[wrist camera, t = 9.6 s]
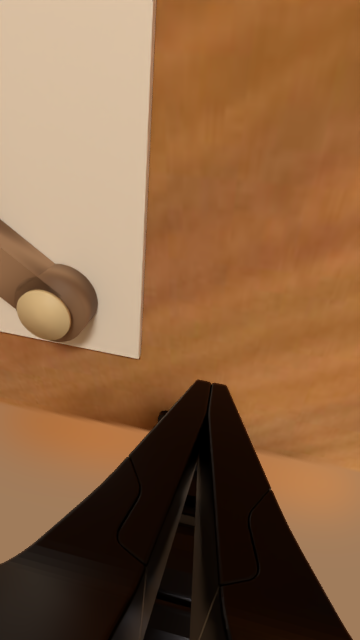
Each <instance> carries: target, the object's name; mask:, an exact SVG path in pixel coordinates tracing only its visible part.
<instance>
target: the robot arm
mask: <svg viewBox="0 0 360 640" xmlns="http://www.w3.org/2000/svg"><path fill="white" fill-rule="evenodd" d="M0 640H353V639H352V638H351V636H350V635H349V633H348V632H347V630H346V628H345V627H344V625H343V623H342V622H341V620H340V618H339V616H338V615H337V613H336V612H335V609H334V608H333V606H332V604H331V602H330V600H329V599H328V597H327V595H326V593H325V592H324V590H323V588H322V586H321V584H320V583H319V581H318V579H317V577H316V576H315V574H314V572H313V570H312V569H311V567H310V565H309V563H308V561H307V560H306V558H305V556H304V554H303V553H302V551H301V549H300V547H299V545H298V543H297V541H296V539H295V538H294V536H293V534H292V532H291V530H290V528H289V526H288V524H287V522H286V520H285V518H284V516H283V514H282V511H281V509H280V507H279V505H278V503H277V500H276V498H275V496H274V493H273V491H272V490H271V487H270V484H269V482H268V480H267V477H266V475H265V473H264V471H263V468H262V466H261V464H260V461H259V459H258V457H257V454H256V452H255V450H254V448H253V445H252V443H251V441H250V438H249V436H248V434H247V431H246V429H245V427H244V425H243V422H242V420H241V418H240V415H239V413H238V411H237V408H236V406H235V404H234V402H233V399H232V397H231V395H230V392H229V390H228V388H227V386H226V385H223V384H218V383H212V385H211V383H210V382H208V381H203V380H197V381H195V383H194V384H193V385H192V386H191V387H190V388H189V389H188V390H187V391H186V392H185V394H184V395H183V396H182V397H181V398H180V399H179V400H178V401H177V402H176V404H175V405H174V406H173V407H172V408H171V409H170V410H169V411H161V412H160V414H159V417H158V423H157V425H156V426H155V427H154V428H153V429H152V430H151V431H150V432H149V433H148V435H147V436H146V437H145V438H144V439H143V440H142V441H141V442H140V444H139V445H138V446H137V447H136V448H135V449H134V450H133V451H132V452H131V453H130V454H129V457H127V458H126V459H125V460H124V461H123V462H122V463H121V464H120V465H119V466H118V467H117V469H116V470H115V471H114V472H113V473H112V474H111V475H110V476H109V477H108V478H107V479H106V480H105V481H104V482H103V483H102V484H101V485H100V486H99V487H98V488H96V489H95V490H94V491H93V492H92V493H91V494H90V495H89V496H88V497H87V498H85V499H84V500H83V501H82V502H81V503H80V504H79V505H77V507H75V508H74V509H73V510H72V511H71V512H69V513H68V514H67V515H66V516H65V517H64V518H63V519H61V520H60V521H59V522H58V523H57V524H56V525H54V526H53V527H52V528H51V529H50V530H49V531H47V532H46V533H45V534H44V535H43V536H42V537H41V538H39V539H38V540H37V541H36V542H35V543H33V544H32V545H31V546H29V547H28V548H27V549H25V550H24V551H23V552H21V553H19V554H18V555H16V556H15V557H13V558H11V559H9V560H8V561H6V562H4V563H2V564H0Z"/></svg>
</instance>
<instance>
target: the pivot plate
mask: <svg viewBox="0 0 360 640" xmlns="http://www.w3.org/2000/svg"><path fill="white" fill-rule="evenodd" d="M155 20H156V0H0V219H1V220H2V221H3V222H4V223H6V224H7V225H8V226H9V227H11V228H12V229H13V230H14V231H16V232H17V233H18V234H19V235H20V236H22V237H23V238H24V239H25V240H27V241H28V242H29V243H30V244H32V245H33V246H34V247H35V248H36V249H38V250H39V251H40V252H41V253H43V254H44V255H45V256H46V257H48V258H49V259H50V260H51V261H52V262H54V263H55V264H63V265H67V266H70V267H72V268H74V269H76V270H78V271H79V272H81V273H82V274H83V275H84V276H85V277H86V278H87V279H88V280H89V281H90V283H91V284H92V286H93V287H94V289H95V292H96V295H97V300H98V306H97V311H96V313H95V315H94V317H93V318H92V319H91V320H90V322H89V323H88V324H87V325H86V326H85V328H84V329H83V330H82V331H81V333H80V334H79V335H78V336H77V337H75V338H74V339H72V340H70V341H66V342H56V343H61V344H66V345H71V346H76V347H81V348H86V349H91V350H96V351H101V352H106V353H111V354H116V355H121V356H126V357H131V358H136V359H139V357H140V355H141V338H142V315H143V292H144V270H145V247H146V224H147V202H148V179H149V156H150V134H151V111H152V88H153V66H154V43H155ZM70 327H71V315H70V312H69V310H68V308H67V306H66V305H65V304H64V302H63V301H62V300H61V299H60V298H58V297H57V296H56V295H54V294H52V293H50V292H48V291H45V290H40V289H35V290H30V291H28V292H26V293H25V294H24V295H22V296H21V297H20V298H19V300H18V302H17V311H16V309H15V308H14V307H12V306H11V305H10V304H9V303H7V302H6V301H5V300H3V299H2V298H1V297H0V331H1V332H6V333H11V334H16V335H21V336H26V337H31V338H36V339H41V340H46V341H50V340H57V339H60V338H62V337H63V336H64V335H65V334H66V333H67V332H68V331H69V329H70ZM51 342H54V341H51Z"/></svg>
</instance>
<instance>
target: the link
mask: <svg viewBox="0 0 360 640" xmlns="http://www.w3.org/2000/svg"><path fill="white" fill-rule="evenodd" d="M35 289H40V290H45V291H48V292H50V293H52V294H54V295H56V296H57V297H58V298H60V299H61V300H62V301H63V302H64V304H65V305H66V306H67V308H68V310H69V312H70V315H71V327H70V329H69V331H68V332H67V333H66V334H65V335H64V336H63V337H62V338H60V339H57V340H50V341H54V342H66V341H70V340H72V339H74V338H75V337H77V336H78V335H79V334H80V333H81V331H82V330H83V329H84V328H85V326H86V325H87V324H88V323H89V322H90V320H91V319H92V318H93V317H94V315H95V313H96V311H97V306H98V300H97V295H96V292H95V289H94V287H93V286H92V284H91V283H90V281H89V280H88V279H87V278H86V277H85V276H84V275H83V274H82V273H81V272H79V271H78V270H76V269H74V268H72V267H70V266H67V265H63V264H55V263H54V262H52V261H51V260H50V259H49V258H48V257H46V256H45V255H44V254H43V253H41V252H40V251H39V250H38V249H36V248H35V247H34V246H33V245H32V244H30V243H29V242H28V241H27V240H25V239H24V238H23V237H22V236H20V235H19V234H18V233H17V232H16V231H14V230H13V229H12V228H11V227H9V226H8V225H7V224H6V223H4V222H3V221H2V220H1V219H0V297H1V298H2V299H3V300H5V301H6V302H7V303H9V304H10V305H11V306H12V307H14V308H15V309H16V311H17V302H18V300H19V298H20V297H21V296H22V295H24V294H25V293H26V292H28V291H30V290H35Z"/></svg>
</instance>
